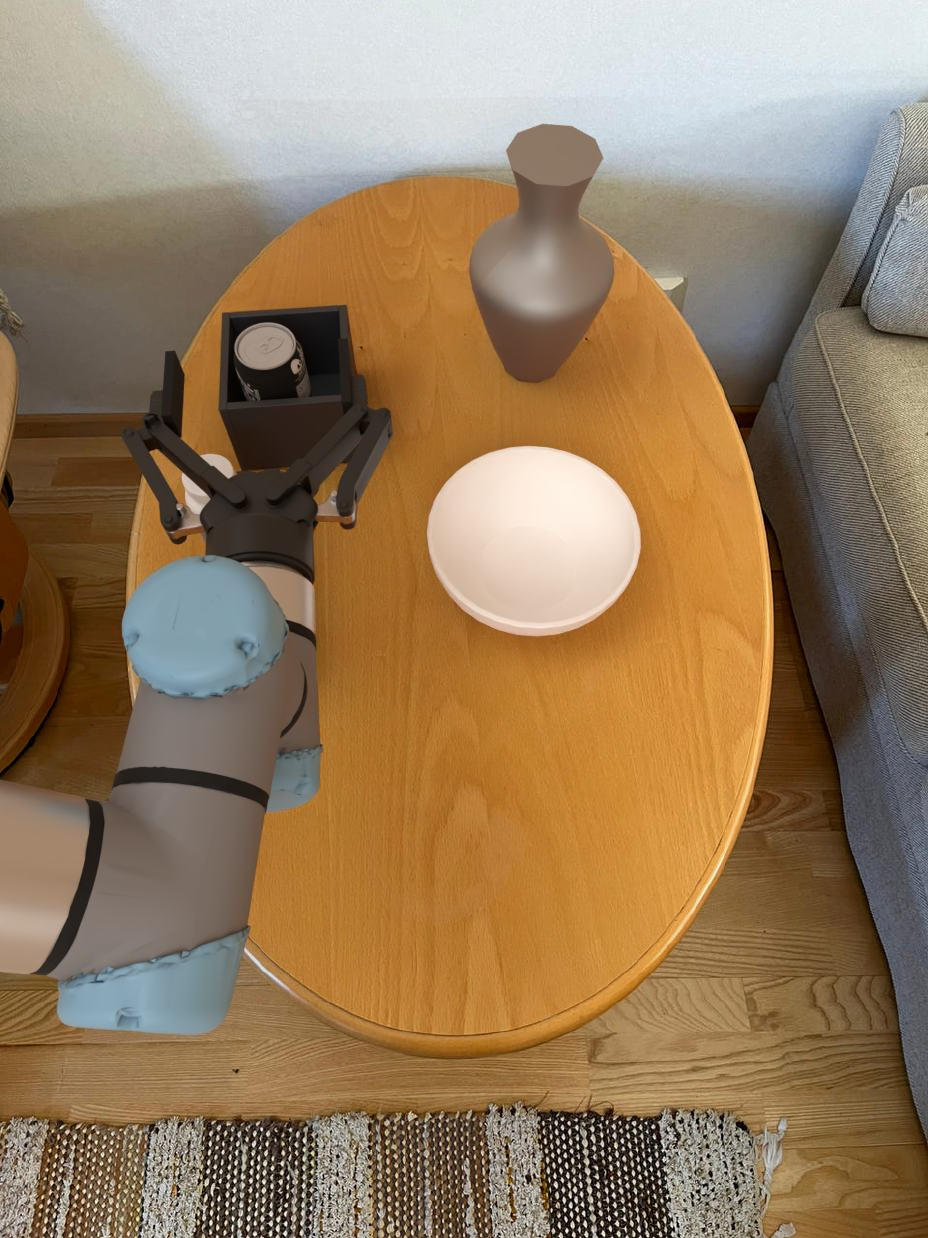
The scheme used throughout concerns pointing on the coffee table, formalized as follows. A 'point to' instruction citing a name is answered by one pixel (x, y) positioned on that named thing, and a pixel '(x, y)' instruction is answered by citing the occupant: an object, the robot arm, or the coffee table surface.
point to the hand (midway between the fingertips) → (260, 356)
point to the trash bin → (293, 423)
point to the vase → (543, 256)
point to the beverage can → (271, 363)
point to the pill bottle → (197, 496)
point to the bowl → (533, 540)
